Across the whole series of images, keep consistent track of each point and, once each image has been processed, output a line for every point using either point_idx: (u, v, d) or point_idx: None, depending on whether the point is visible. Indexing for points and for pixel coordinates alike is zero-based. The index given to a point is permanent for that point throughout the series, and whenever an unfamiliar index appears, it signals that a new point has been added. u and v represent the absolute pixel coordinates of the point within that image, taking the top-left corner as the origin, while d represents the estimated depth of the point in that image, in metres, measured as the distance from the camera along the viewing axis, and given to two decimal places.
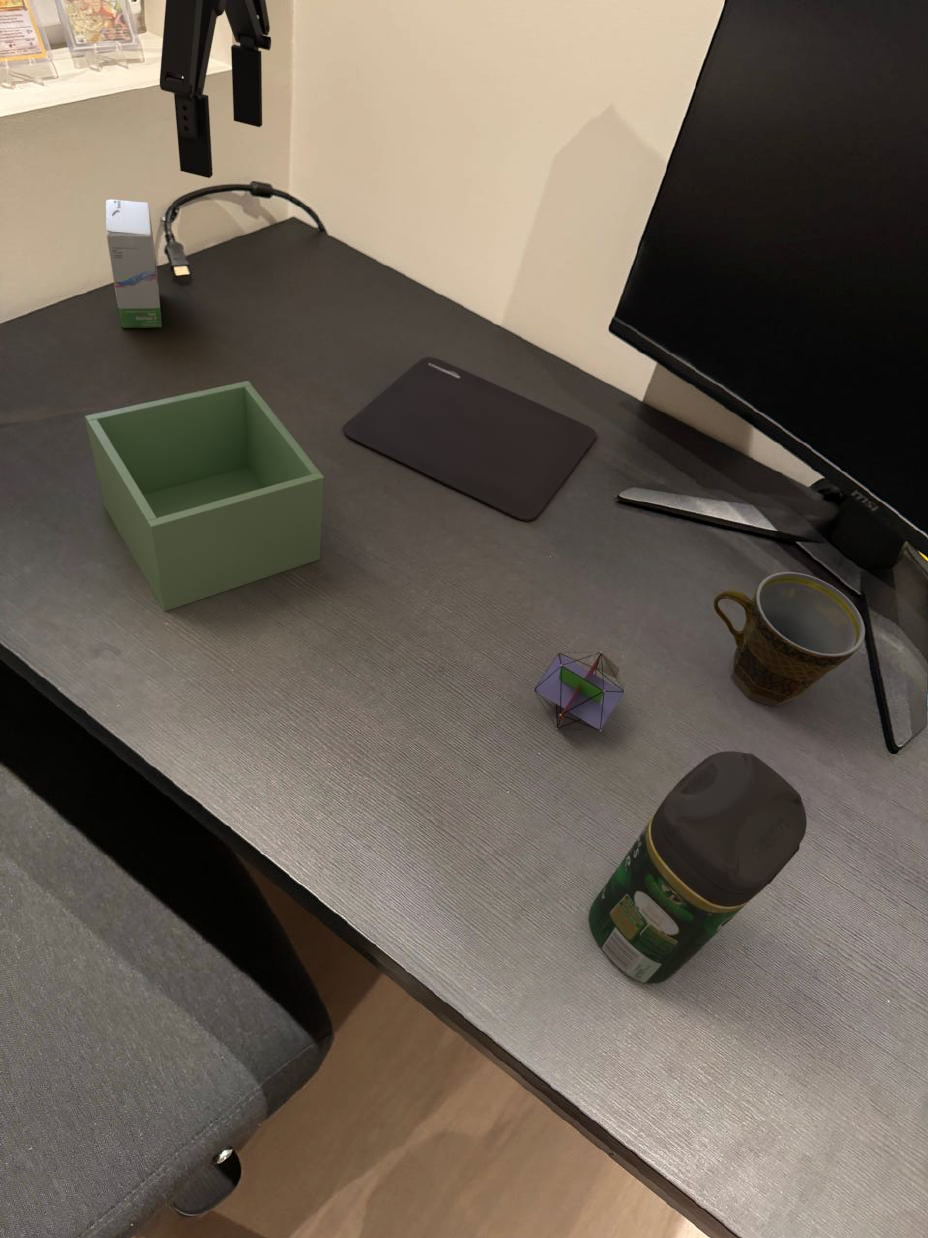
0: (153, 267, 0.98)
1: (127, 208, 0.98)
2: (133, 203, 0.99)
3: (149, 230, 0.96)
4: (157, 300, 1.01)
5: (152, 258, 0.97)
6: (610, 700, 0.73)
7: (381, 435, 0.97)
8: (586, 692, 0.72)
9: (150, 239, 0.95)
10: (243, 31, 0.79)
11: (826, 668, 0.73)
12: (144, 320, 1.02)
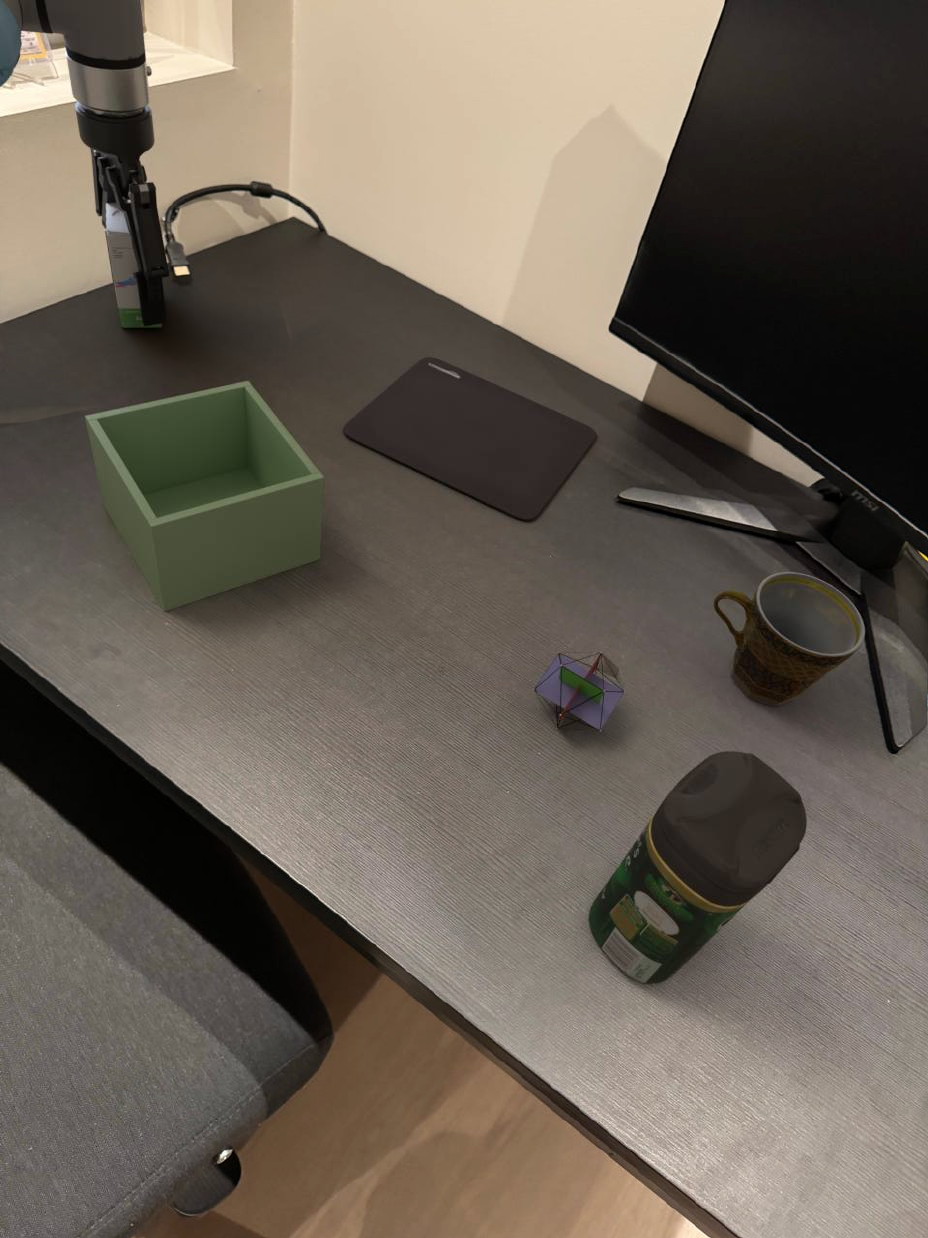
0: None
1: None
2: None
3: None
4: None
5: None
6: (610, 700, 0.73)
7: (381, 435, 0.97)
8: (586, 692, 0.72)
9: None
10: None
11: (826, 668, 0.73)
12: None
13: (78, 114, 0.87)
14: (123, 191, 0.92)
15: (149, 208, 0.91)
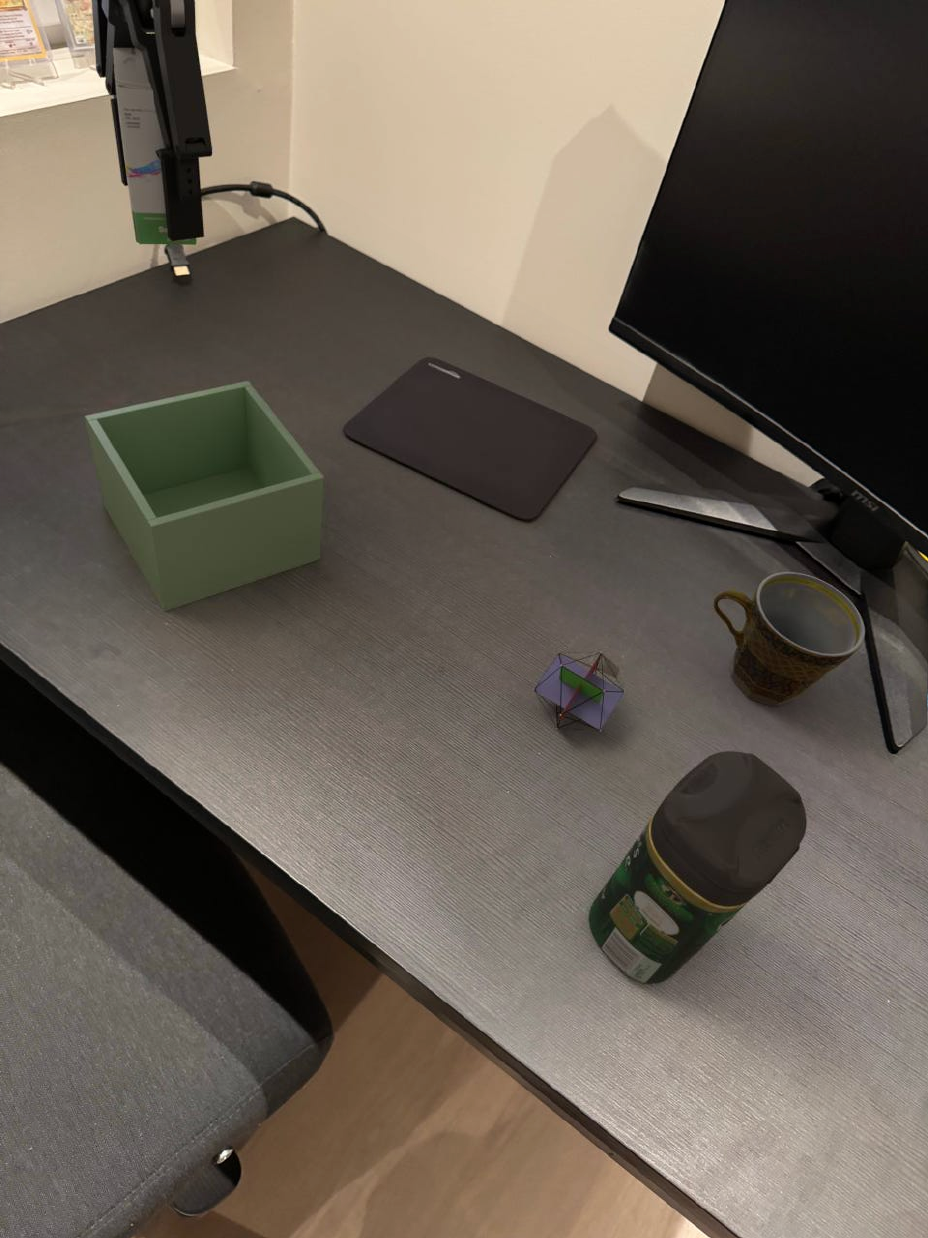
0: None
1: None
2: None
3: None
4: None
5: None
6: (610, 700, 0.73)
7: (381, 435, 0.97)
8: (586, 692, 0.72)
9: None
10: None
11: (826, 668, 0.73)
12: None
13: None
14: (142, 13, 0.58)
15: (183, 37, 0.57)
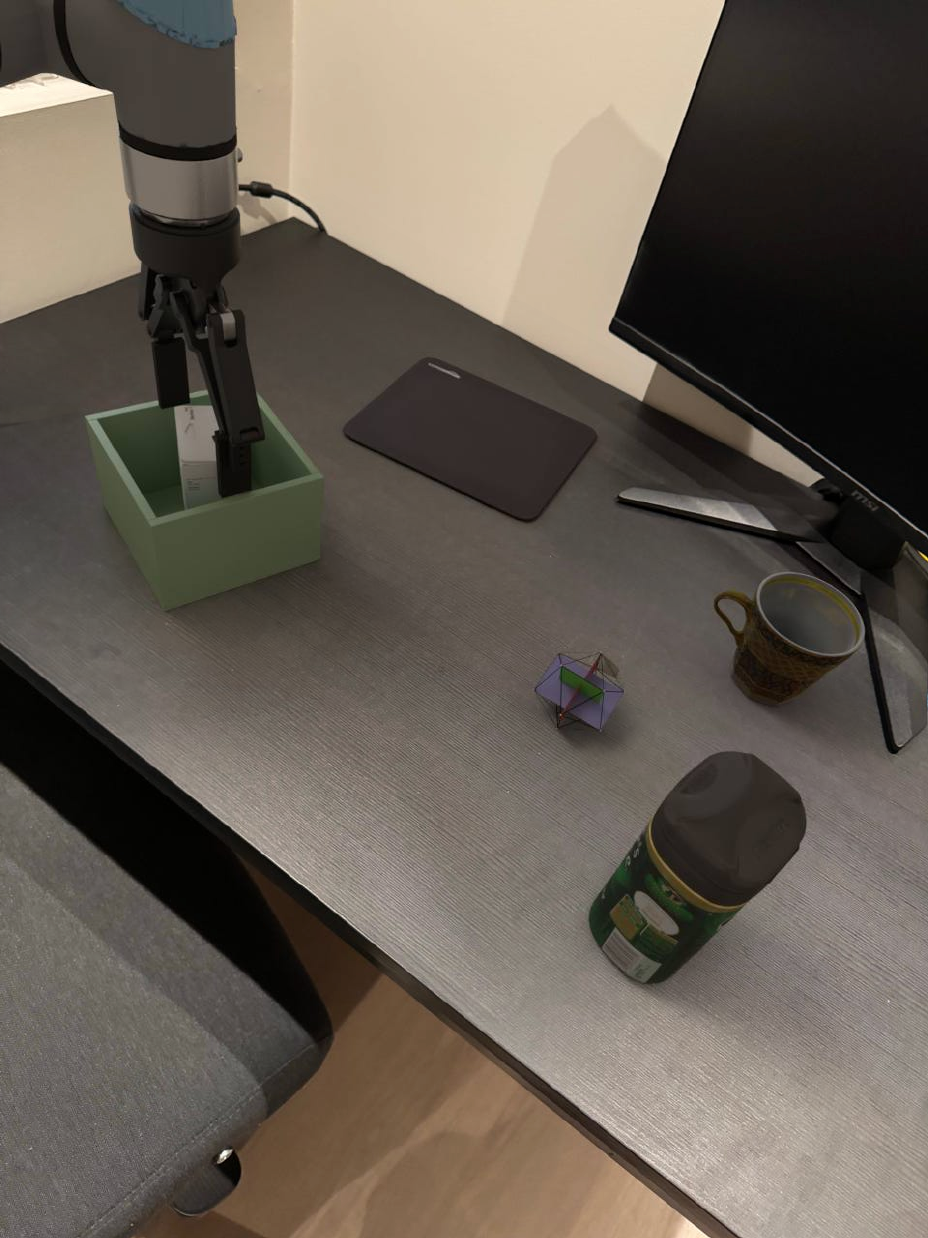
0: None
1: (203, 418, 0.75)
2: (209, 409, 0.76)
3: None
4: None
5: None
6: (610, 700, 0.73)
7: (381, 435, 0.97)
8: (586, 692, 0.72)
9: None
10: (169, 328, 0.72)
11: (826, 668, 0.73)
12: None
13: (134, 222, 0.58)
14: (195, 325, 0.63)
15: (235, 347, 0.61)
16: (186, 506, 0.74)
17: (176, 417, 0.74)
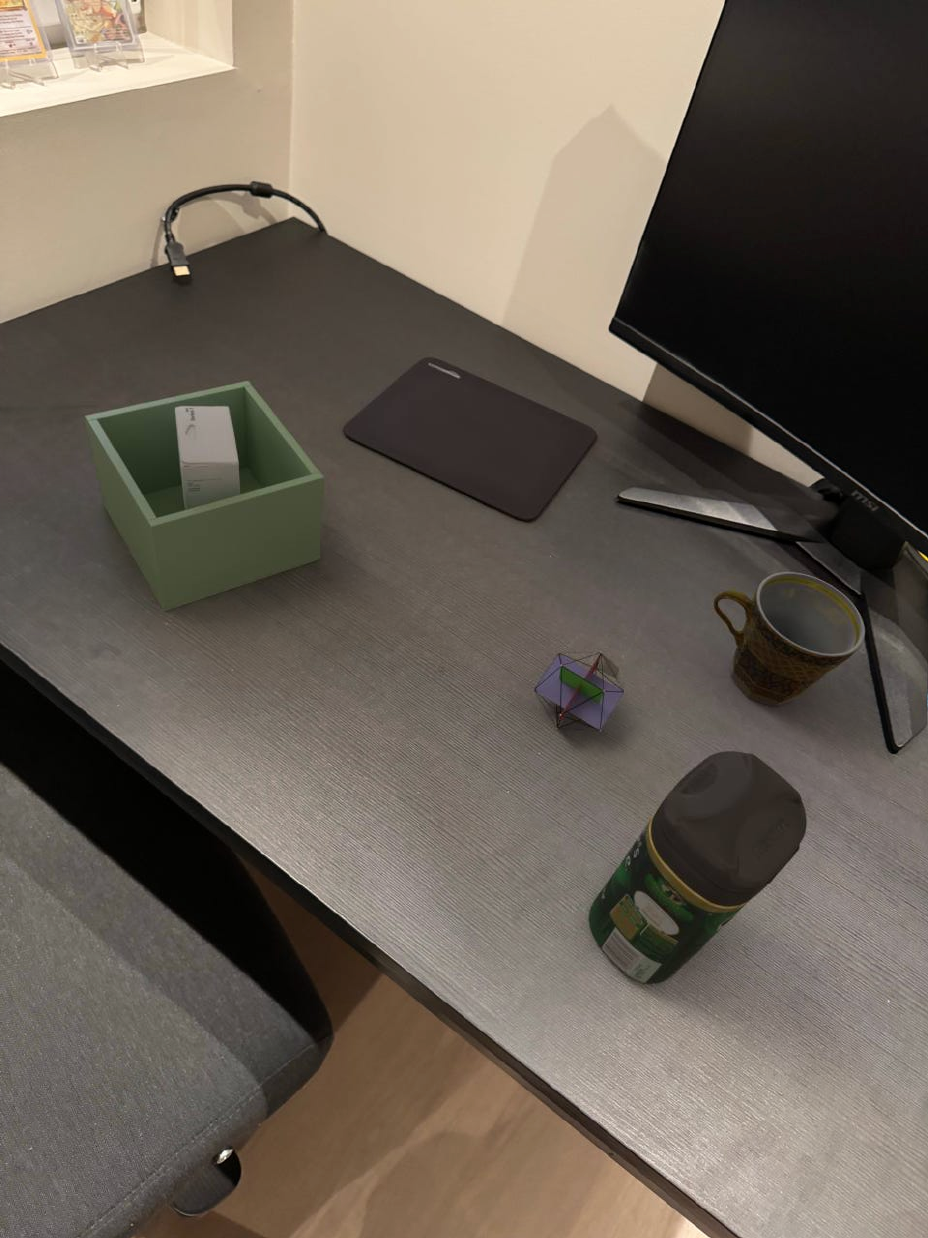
0: None
1: (203, 419, 0.75)
2: (210, 410, 0.76)
3: (235, 454, 0.73)
4: None
5: (238, 487, 0.74)
6: (610, 700, 0.73)
7: (381, 435, 0.97)
8: (586, 692, 0.72)
9: (237, 467, 0.72)
10: None
11: (826, 668, 0.73)
12: None
13: None
14: None
15: None
16: (186, 507, 0.74)
17: (177, 418, 0.74)
